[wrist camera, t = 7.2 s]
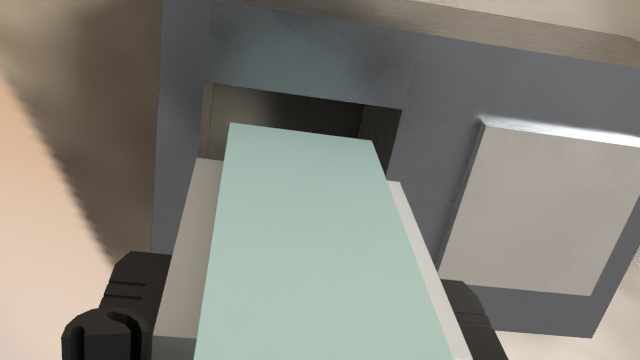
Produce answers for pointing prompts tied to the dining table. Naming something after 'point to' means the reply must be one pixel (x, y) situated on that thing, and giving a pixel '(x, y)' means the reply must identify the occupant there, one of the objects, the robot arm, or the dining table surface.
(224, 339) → the plug
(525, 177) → the port panel
